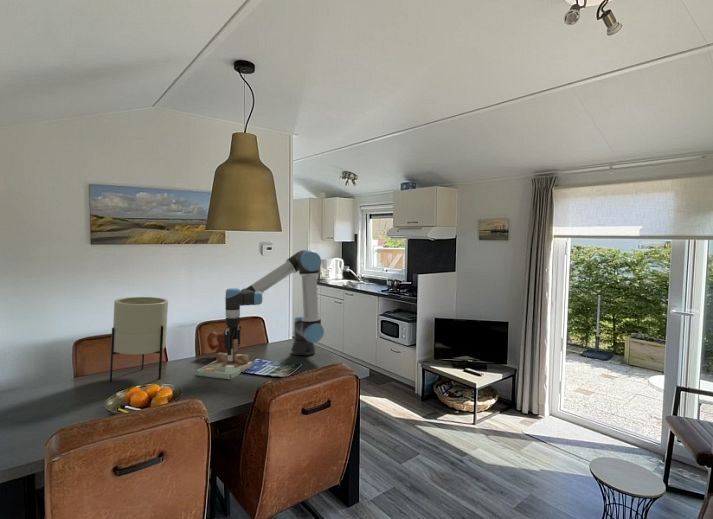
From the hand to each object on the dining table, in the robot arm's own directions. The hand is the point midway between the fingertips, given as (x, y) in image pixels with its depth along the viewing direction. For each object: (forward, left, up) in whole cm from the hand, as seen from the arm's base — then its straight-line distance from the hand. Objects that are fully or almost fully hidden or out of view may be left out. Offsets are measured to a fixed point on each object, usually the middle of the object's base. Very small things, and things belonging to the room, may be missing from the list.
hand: (232, 359), depth 216 cm
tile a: (-5, +9, -2) cm, 11 cm away
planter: (+34, +28, -5) cm, 44 cm away
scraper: (0, 0, -1) cm, 1 cm away
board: (0, +1, -5) cm, 5 cm away
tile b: (+6, +12, -2) cm, 14 cm away
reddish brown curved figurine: (+19, -16, -5) cm, 26 cm away
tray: (0, +12, -5) cm, 13 cm away
